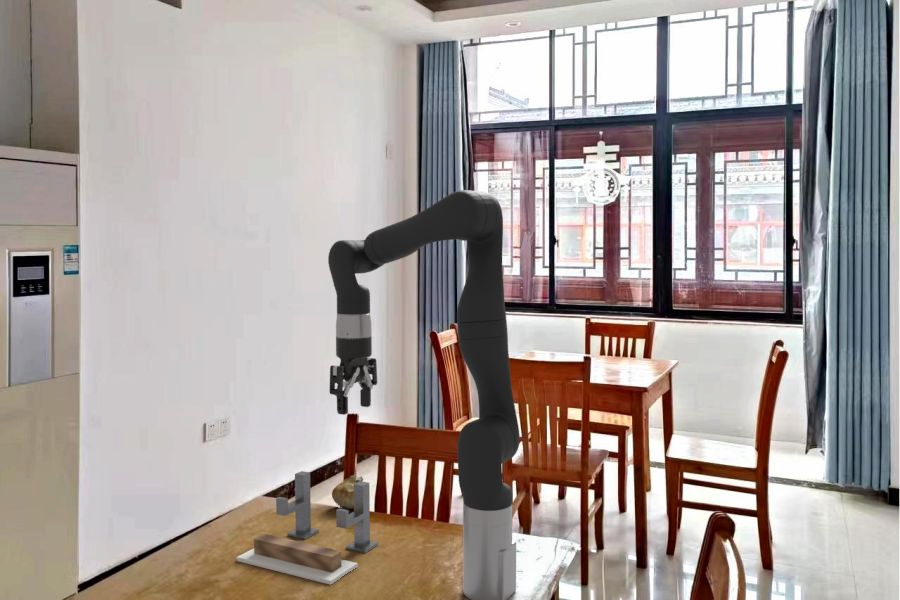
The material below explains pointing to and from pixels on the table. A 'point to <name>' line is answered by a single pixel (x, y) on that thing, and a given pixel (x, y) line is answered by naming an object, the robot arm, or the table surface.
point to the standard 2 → (358, 519)
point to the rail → (298, 552)
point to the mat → (297, 567)
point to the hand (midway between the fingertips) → (354, 410)
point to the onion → (345, 492)
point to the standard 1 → (299, 507)
